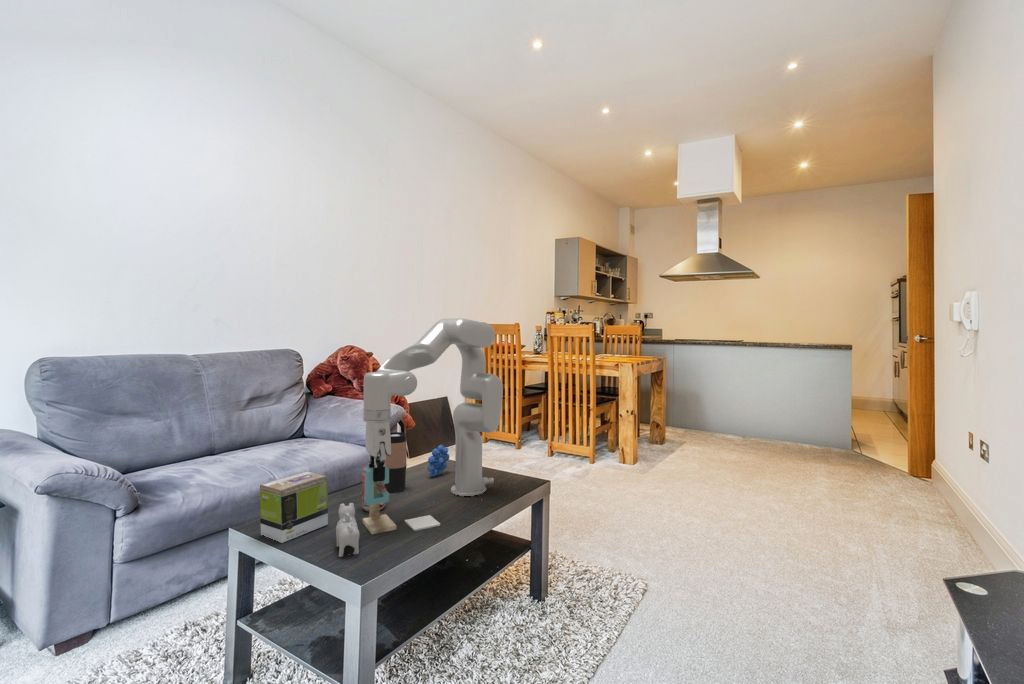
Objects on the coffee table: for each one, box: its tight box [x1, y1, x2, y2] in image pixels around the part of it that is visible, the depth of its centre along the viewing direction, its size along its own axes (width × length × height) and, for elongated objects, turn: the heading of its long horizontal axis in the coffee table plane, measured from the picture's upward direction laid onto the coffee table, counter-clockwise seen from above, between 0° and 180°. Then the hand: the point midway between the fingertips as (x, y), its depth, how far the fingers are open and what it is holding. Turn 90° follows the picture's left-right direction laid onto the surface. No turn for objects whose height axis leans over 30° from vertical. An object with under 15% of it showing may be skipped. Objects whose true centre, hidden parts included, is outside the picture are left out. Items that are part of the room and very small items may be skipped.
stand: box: [362, 481, 397, 535], centre depth 141 cm, size 7×11×12 cm, turn 32°
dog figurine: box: [335, 502, 361, 558], centre depth 127 cm, size 5×13×11 cm, turn 26°
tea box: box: [259, 470, 329, 544], centre depth 137 cm, size 15×10×15 cm
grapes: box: [427, 444, 450, 477], centre depth 192 cm, size 12×7×12 cm, turn 145°
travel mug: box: [385, 431, 407, 494], centre depth 174 cm, size 8×8×20 cm
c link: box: [364, 466, 390, 505], centre depth 139 cm, size 6×4×10 cm, turn 122°
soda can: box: [361, 466, 386, 513], centre depth 155 cm, size 7×7×13 cm
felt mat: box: [404, 514, 441, 532], centre depth 144 cm, size 8×8×1 cm
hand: (376, 478), depth 139 cm, fingers closed on c link, 3 cm apart
